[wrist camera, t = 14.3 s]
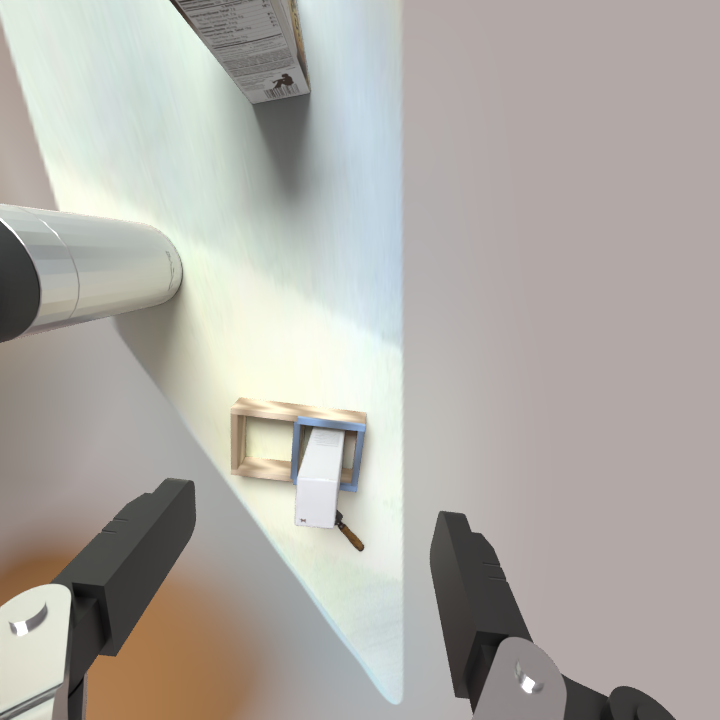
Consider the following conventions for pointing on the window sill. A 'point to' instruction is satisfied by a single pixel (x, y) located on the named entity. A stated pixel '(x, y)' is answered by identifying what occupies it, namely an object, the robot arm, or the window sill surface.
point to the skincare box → (320, 478)
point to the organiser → (301, 417)
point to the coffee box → (253, 44)
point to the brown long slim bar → (348, 532)
